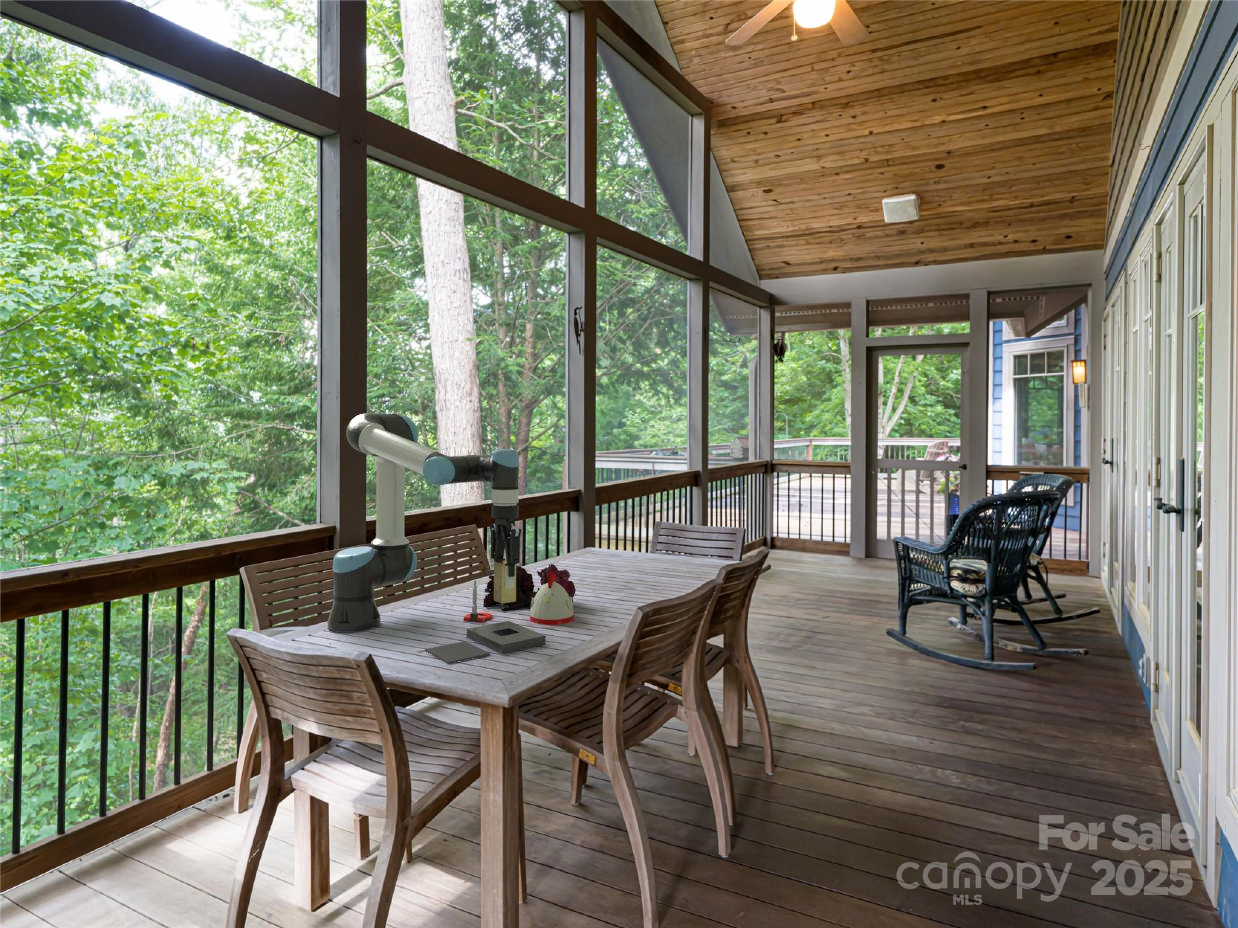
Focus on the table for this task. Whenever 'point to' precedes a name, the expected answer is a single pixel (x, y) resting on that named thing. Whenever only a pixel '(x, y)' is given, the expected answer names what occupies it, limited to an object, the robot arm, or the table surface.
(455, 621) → the table surface
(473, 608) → the tow hook
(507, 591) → the brass plug
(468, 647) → the rubber mat
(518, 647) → the socket plate
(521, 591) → the flower arrangement
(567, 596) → the kitchen timer
